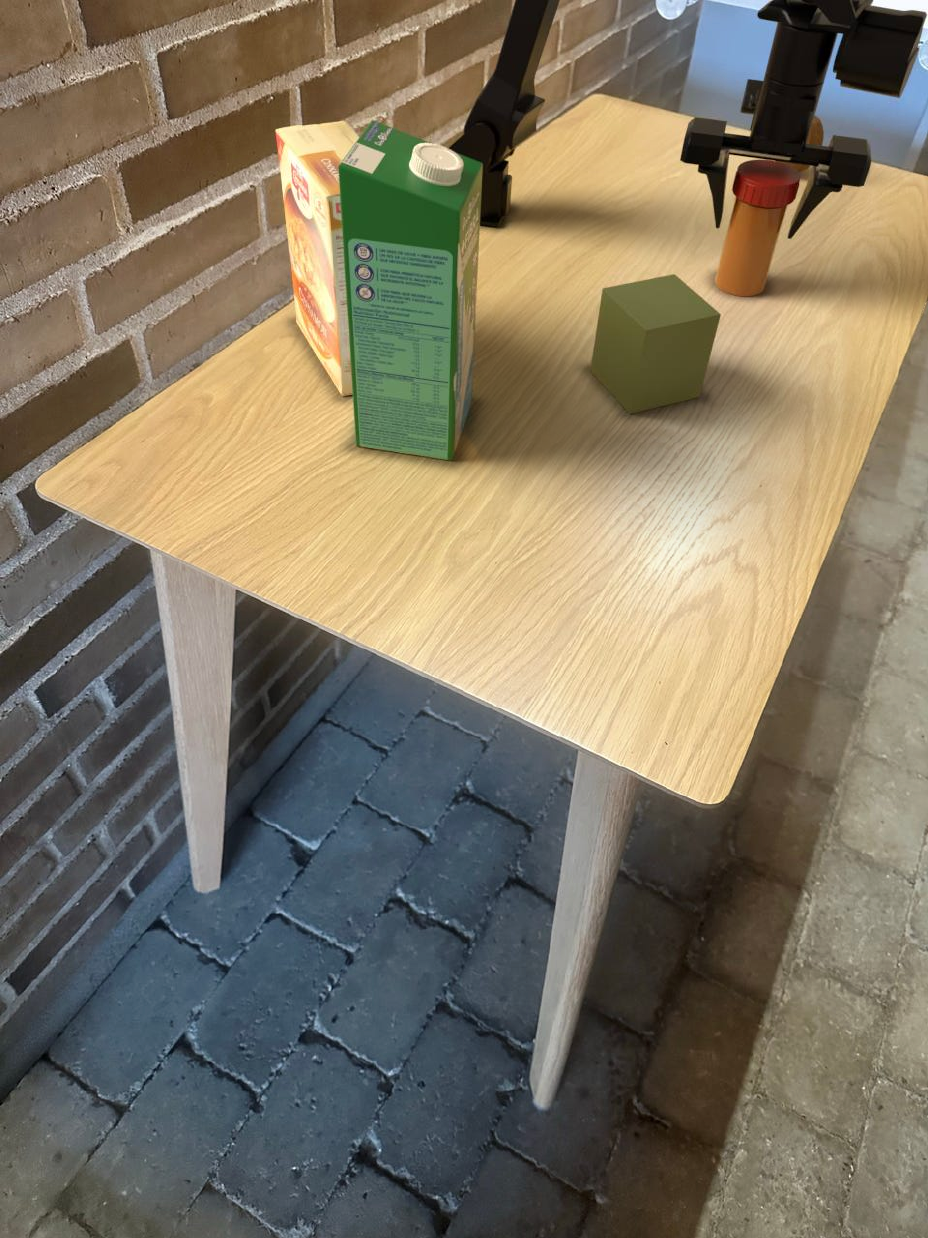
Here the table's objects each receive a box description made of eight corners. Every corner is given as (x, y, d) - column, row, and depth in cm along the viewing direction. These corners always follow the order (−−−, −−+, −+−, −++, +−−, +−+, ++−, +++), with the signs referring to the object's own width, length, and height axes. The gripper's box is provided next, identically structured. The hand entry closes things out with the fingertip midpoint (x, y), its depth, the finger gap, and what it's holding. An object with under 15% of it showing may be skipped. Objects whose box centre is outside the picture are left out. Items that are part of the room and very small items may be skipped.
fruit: (812, 167, 131) (831, 105, 125) (812, 185, 127) (831, 122, 121) (767, 161, 132) (783, 99, 126) (766, 179, 128) (782, 116, 122)
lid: (794, 211, 98) (800, 189, 96) (729, 202, 99) (735, 180, 97) (795, 185, 102) (802, 164, 100) (733, 177, 103) (739, 155, 101)
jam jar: (713, 291, 107) (739, 184, 98) (716, 269, 110) (742, 164, 101) (762, 299, 106) (793, 192, 97) (764, 276, 110) (794, 171, 101)
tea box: (589, 370, 95) (602, 287, 88) (657, 355, 97) (674, 273, 91) (629, 414, 90) (646, 330, 83) (699, 397, 92) (721, 314, 86)
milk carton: (452, 461, 84) (461, 178, 66) (355, 446, 85) (337, 163, 67) (471, 404, 90) (484, 130, 72) (380, 391, 91) (370, 117, 73)
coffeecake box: (294, 322, 99) (272, 127, 85) (357, 310, 101) (347, 117, 87) (339, 398, 90) (324, 194, 76) (408, 383, 92) (406, 182, 78)
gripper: (889, 61, 96) (839, 213, 107) (706, 40, 99) (676, 190, 110) (894, 99, 89) (840, 257, 100) (696, 74, 91) (665, 231, 103)
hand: (753, 231), depth 103 cm, fingers open, 7 cm apart
